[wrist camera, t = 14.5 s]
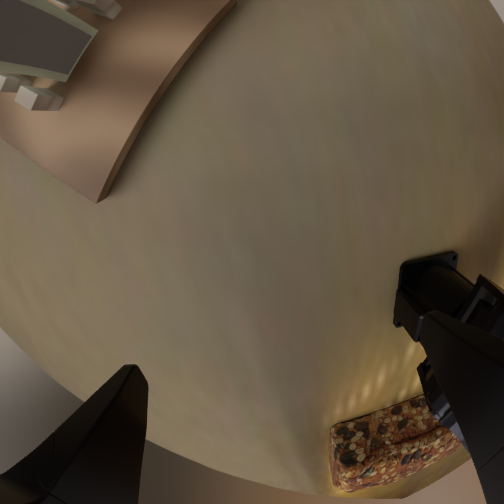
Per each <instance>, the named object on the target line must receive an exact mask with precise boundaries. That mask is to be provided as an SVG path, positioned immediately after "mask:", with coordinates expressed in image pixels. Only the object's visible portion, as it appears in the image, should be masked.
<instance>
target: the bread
mask: <svg viewBox="0 0 504 504" xmlns="http://www.w3.org/2000/svg"><path fill="white" fill-rule="evenodd" d="M330 431H331V432H330V442H329V462H330V469H331V475H332V479H333V485H334V486H335V488H336V487H338V488H340V489H341V490H342V491H346V492H353V491H357V490H361V489H368V488H371V487H375V486H379V485H387V484H389V483H392V482H395V481H397V480H399V479H402V478H405V477H407V476H409V475H411V474H414V473H415V472H417V471H419V470H421V469H422V468H425V467H427V466H429V465H430V464H433V463H434V462H438V461H440V460H441V459H442V458H444V457H446V456H448V455H450V454H451V453H452V452H454V451H456V449H457V447H458V446H459V445H460V444H461V441H460V440H459V439H458V438H457V436H456V435H455V434H454V433H452V432H451V431H450V430H449V429H448V428H446V427H445V426H443V425H442V424H440V423H439V421H438V420H437V419H436V418H435V417H434V416H433V414H431V413H430V412H429V409H428V406H427V403H426V399H425V395H424V396H423V395H421V396H418V397H416V398H414V399H410V400H408V401H406V402H403V403H400V404H397V405H394V406H391V407H388V408H385V409H382V410H379V411H376V412H373V413H371V414H370V415H368V416H364V417H362V418H361V419H355V420H354V421H351V422H346V423H339V424H337V425H335V426H334V427H332V428H331V430H330Z"/></svg>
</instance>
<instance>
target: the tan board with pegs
mask: <svg viewBox="0 0 504 504" xmlns="http://www.w3.org/2000/svg"><path fill="white" fill-rule="evenodd" d="M47 1H49V2H51V3H53V4H55V5H56V6H58V7H60V8H62V9H64V10H65V11H67V12H69V13H70V14H72V15H74V16H76V17H77V18H79V19H81V20H82V21H84V22H85V23H87V24H89V25H90V26H92V27H93V28H95V29H97V30H98V32H97V33H96V35H95V36H94V38H93V39H92V40H91V42H90V43H89V45H88V46H87V48H86V49H85V51H84V53H83V54H82V56H81V57H80V59H79V60H78V62H77V64H76V65H75V67H74V69H73V70H72V72H71V74H70V76H69V77H68V79H67V81H66V82H63V81H58V80H53V79H47V78H42V77H36V76H30V75H23V74H16V73H8V72H0V137H1V138H2V139H3V140H5V141H6V142H7V143H9V144H10V145H12V146H13V147H14V148H16V149H17V150H18V151H20V152H21V153H22V154H24V155H25V156H27V157H28V158H29V159H31V160H32V161H34V162H35V163H36V164H38V165H39V166H41V167H42V168H43V169H45V170H46V171H48V172H49V173H51V174H52V175H54V176H55V177H56V178H58V179H59V180H61V181H62V182H64V183H65V184H67V185H68V186H70V187H71V188H73V189H74V190H76V191H77V192H79V193H80V194H82V195H83V196H85V197H86V198H88V199H89V200H91V201H92V202H94V203H95V204H97V203H98V202H100V201H102V200H104V199H105V198H106V196H107V194H108V192H109V190H110V187H111V185H112V183H113V181H114V179H115V177H116V175H117V173H118V171H119V169H120V167H121V165H122V163H123V161H124V159H125V157H126V155H127V153H128V152H129V150H130V148H131V146H132V144H133V142H134V141H135V139H136V137H137V135H138V134H139V132H140V130H141V129H142V127H143V125H144V123H145V122H146V120H147V119H148V117H149V115H150V114H151V112H152V110H153V109H154V107H155V106H156V104H157V103H158V101H159V100H160V98H161V97H162V95H163V94H164V92H165V91H166V89H167V88H168V86H169V85H170V83H171V82H172V80H173V79H174V78H175V76H176V75H177V73H178V72H179V71H180V69H181V68H182V67H183V65H184V64H185V63H186V61H187V60H188V59H189V58H190V56H191V55H192V54H193V52H194V51H195V50H196V49H197V47H198V46H199V45H200V44H201V42H202V41H203V40H204V39H205V38H206V37H207V35H208V34H209V33H210V32H211V31H212V30H213V28H214V27H215V26H216V25H217V24H218V23H219V22H220V21H221V19H222V18H223V17H224V16H225V15H226V14H227V13H228V12H229V11H230V10H231V9H232V8H233V7H234V6H235V5H236V0H47Z"/></svg>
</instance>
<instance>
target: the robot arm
mask: <svg viewBox="0 0 504 504" xmlns="http://www.w3.org/2000/svg"><path fill="white" fill-rule="evenodd" d="M457 260H458V254H457V253H456V252H455V251H451V252H447V253H443V254H439V255H434V256H430V257H426V258H422V259H417V260H413V261H409V262H405V263H403V264H402V265H401V267H400V273H399V282H398V289H397V292H396V300H395V307H394V319H393V324H394V325H395V327H397V328H398V327H402V326H403V327H404V328H405V330H406V331H407V332H408V334H409V335H410V336H411V338H412V339H413V341H415V342H420V343H421V345H422V346H423V348H424V350H425V352H426V355H427V357H426V359H425V360H424V361H423V362H422V363H420V365H419V366H418V367H417V371H418V374H419V378H420V381H421V384H422V388H423V392H424V395H425V399H426V403H427V406H428V409H429V412H430V413H431V414H433V416H434V417H435V418H436V419H437V420H438V421H439V423H440V424H442V425H443V426H445V427H446V428H448V429H449V430H450V431H451V432H452V433H454V434H455V435H456V436H457V438H458V439H459V440H460V441H461V443H462V444H463V445H464V447H465V448H466V450H467V451H468V452H469V453H470V455H471V457H472V460H473V463H474V465H475V468H476V470H477V474H478V477H479V480H480V483H481V486H482V489H483V493H484V496H485V499H486V503H487V504H504V289H502V288H501V287H499V286H498V285H497V284H495V283H494V282H492V281H490V280H489V279H487V278H486V277H484V276H483V275H481V274H479V276H478V278H477V282H476V284H475V285H474V284H473V283H472V282H470V281H469V280H468V279H467V278H466V277H464V276H463V275H462V274H461V273H459V272H458V271H457V270H456V266H457ZM405 268H407V269H406V270H405ZM147 408H148V382H147V380H146V379H145V377H144V375H143V373H142V372H141V370H140V368H139V367H138V366H137V365H135V364H127V365H124V366H123V367H121V368H120V369H119V370H118V371H117V372H116V373H115V374H114V375H113V376H112V377H111V378H110V379H109V380H108V381H107V382H106V383H105V384H103V385H102V386H101V387H100V388H99V389H98V390H97V391H96V392H95V393H94V394H93V395H92V396H91V397H90V398H89V399H88V400H87V401H86V402H84V403H83V404H82V405H81V406H80V407H79V408H78V409H77V410H76V411H75V412H74V413H73V414H72V415H71V416H70V417H69V418H68V419H67V420H65V421H64V423H62V424H61V426H59V427H58V428H57V429H56V430H55V433H54V432H53V433H52V434H51V435H50V436H49V437H48V438H47V439H45V440H44V441H43V442H42V443H41V444H40V445H39V446H38V447H37V448H36V449H34V450H33V451H32V452H31V453H29V454H28V455H27V456H26V457H24V458H23V459H22V460H20V461H19V462H18V463H17V464H16V465H14V466H13V467H11V468H10V469H9V470H7V471H6V472H4V473H3V474H0V504H138V499H139V487H140V477H141V468H142V460H143V452H144V444H145V437H146V429H147Z"/></svg>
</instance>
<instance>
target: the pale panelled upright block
mask: <svg viewBox="0 0 504 504" xmlns="http://www.w3.org/2000/svg"><path fill="white" fill-rule="evenodd" d="M97 32H98V30H97V29H95V28H93V27H92V26H90V25H89V24H87V23H85V22H84V21H82V20H81V19H79V18H77V17H76V16H74V15H72V14H70V13H69V12H67V11H65V10H64V9H62V8H60V7H58V6H56V5H55V4H53V3H51V2H49V1H47V0H0V72H8V73H16V74H23V75H30V76H36V77H42V78H47V79H53V80H58V81H63V82H66V81H67V79H68V77H69V76H70V74H71V72H72V70H73V69H74V67H75V65H76V64H77V62H78V60H79V59H80V57H81V56H82V54H83V53H84V51H85V49H86V48H87V46H88V45H89V43H90V42H91V40H92V39H93V38H94V36H95V35H96V33H97Z"/></svg>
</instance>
